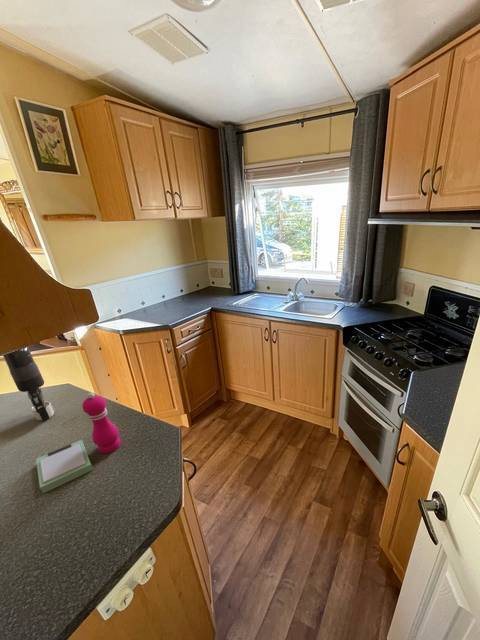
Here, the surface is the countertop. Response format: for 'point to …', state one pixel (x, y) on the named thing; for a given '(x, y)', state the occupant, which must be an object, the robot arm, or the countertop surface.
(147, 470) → the countertop surface
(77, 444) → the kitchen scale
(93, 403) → the pepper mill
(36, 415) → the dip bowl
